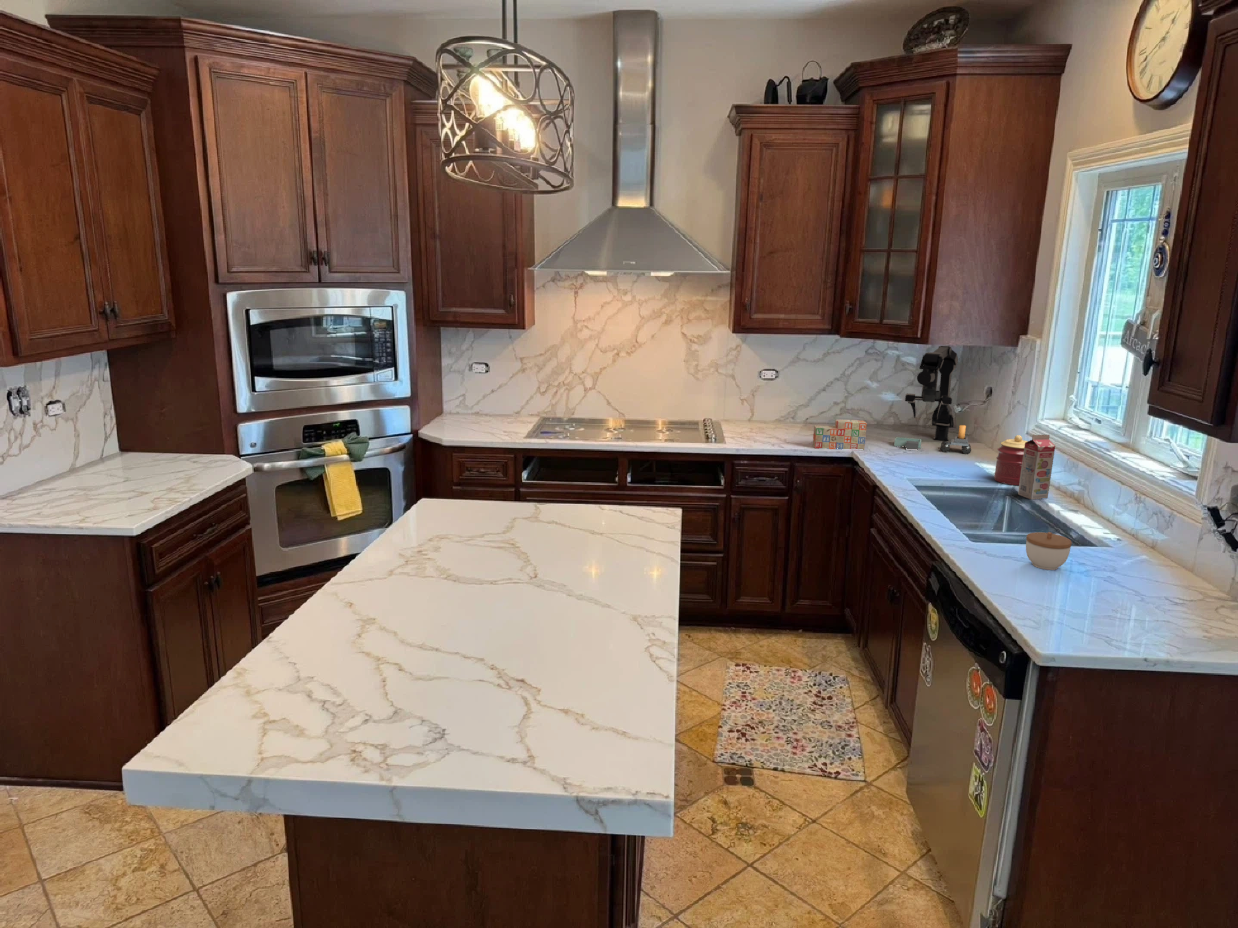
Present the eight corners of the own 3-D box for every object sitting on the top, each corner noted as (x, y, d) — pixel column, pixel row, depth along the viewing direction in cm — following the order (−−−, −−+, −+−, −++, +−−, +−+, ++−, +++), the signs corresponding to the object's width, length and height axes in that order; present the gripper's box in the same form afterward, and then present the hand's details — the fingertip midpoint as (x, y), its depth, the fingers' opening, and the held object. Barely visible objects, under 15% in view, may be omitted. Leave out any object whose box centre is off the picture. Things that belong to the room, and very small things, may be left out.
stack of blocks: (814, 448, 358) (816, 421, 355) (812, 445, 364) (814, 418, 362) (864, 450, 357) (867, 422, 354) (861, 447, 363) (864, 420, 360)
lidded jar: (1018, 566, 220) (1023, 533, 218) (1028, 556, 228) (1032, 523, 226) (1063, 576, 213) (1068, 542, 211) (1071, 565, 222) (1076, 532, 219)
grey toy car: (940, 448, 363) (941, 434, 362) (970, 451, 359) (971, 437, 357) (940, 452, 356) (941, 438, 354) (970, 454, 352) (972, 440, 350)
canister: (1010, 487, 301) (1017, 439, 296) (985, 478, 313) (991, 432, 308) (1039, 485, 304) (1046, 438, 300) (1014, 476, 316) (1020, 431, 312)
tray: (894, 443, 371) (895, 437, 371) (920, 445, 368) (921, 439, 367) (894, 446, 365) (894, 439, 365) (920, 448, 362) (921, 442, 361)
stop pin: (957, 440, 357) (959, 424, 356) (964, 441, 356) (965, 425, 355) (957, 441, 355) (959, 425, 353) (964, 442, 354) (966, 426, 352)
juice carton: (1018, 494, 291) (1026, 433, 286) (1034, 493, 292) (1042, 432, 287) (1031, 499, 285) (1039, 437, 279) (1047, 498, 286) (1056, 436, 281)
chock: (905, 448, 363) (906, 440, 362) (917, 449, 361) (918, 441, 360) (905, 450, 359) (906, 442, 358) (917, 451, 357) (918, 443, 356)
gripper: (906, 383, 347) (903, 420, 351) (954, 386, 341) (950, 423, 345) (907, 380, 358) (903, 415, 361) (953, 383, 352) (948, 419, 355)
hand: (926, 418), depth 355 cm, fingers open, 9 cm apart
